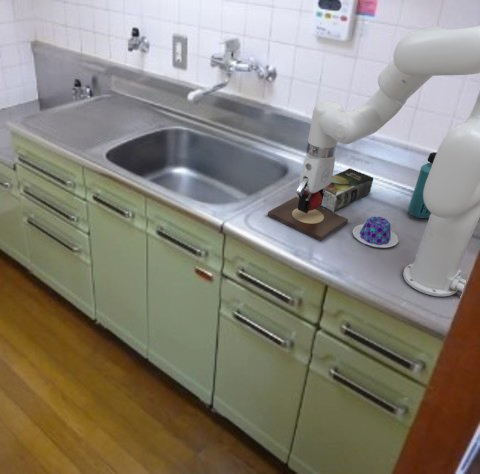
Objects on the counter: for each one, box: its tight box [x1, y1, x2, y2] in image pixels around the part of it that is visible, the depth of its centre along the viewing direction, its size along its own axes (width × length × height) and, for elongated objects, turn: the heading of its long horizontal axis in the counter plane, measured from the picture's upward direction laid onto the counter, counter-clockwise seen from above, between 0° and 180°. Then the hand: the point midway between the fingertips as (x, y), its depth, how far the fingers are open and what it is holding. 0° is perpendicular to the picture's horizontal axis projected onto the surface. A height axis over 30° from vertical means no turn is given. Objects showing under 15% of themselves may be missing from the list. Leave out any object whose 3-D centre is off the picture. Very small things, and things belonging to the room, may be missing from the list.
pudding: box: [352, 216, 399, 249], centre depth 145 cm, size 12×12×5 cm
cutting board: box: [267, 196, 349, 242], centre depth 153 cm, size 18×14×2 cm
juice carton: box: [319, 167, 374, 213], centre depth 164 cm, size 20×10×6 cm, turn 128°
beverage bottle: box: [407, 151, 437, 219], centre depth 151 cm, size 6×7×20 cm
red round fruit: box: [304, 191, 322, 211], centre depth 150 cm, size 6×6×8 cm
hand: (309, 206), depth 151 cm, fingers closed on red round fruit, 6 cm apart
